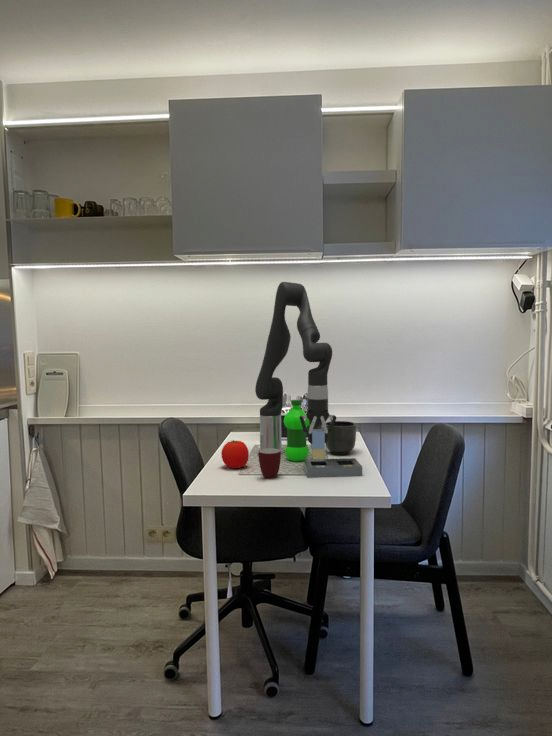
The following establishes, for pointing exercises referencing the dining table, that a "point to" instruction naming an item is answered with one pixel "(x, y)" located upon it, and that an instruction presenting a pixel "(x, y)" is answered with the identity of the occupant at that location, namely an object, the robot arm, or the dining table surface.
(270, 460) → the mug
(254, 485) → the dining table surface
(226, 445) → the tomato
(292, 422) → the plastic bottle
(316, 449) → the plug
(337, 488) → the dining table surface
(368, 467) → the dining table surface
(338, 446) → the planter
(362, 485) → the dining table surface
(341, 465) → the panel
